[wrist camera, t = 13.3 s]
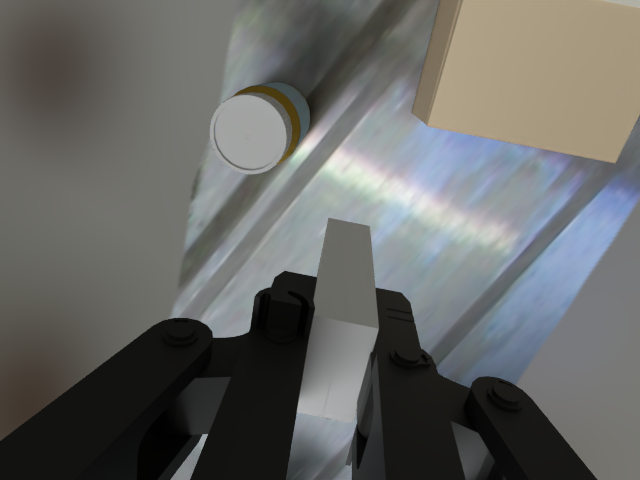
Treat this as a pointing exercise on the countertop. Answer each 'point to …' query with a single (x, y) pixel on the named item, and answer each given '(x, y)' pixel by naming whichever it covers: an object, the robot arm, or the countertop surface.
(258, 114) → the bottle
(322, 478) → the countertop surface
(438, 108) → the flap
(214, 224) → the countertop surface
